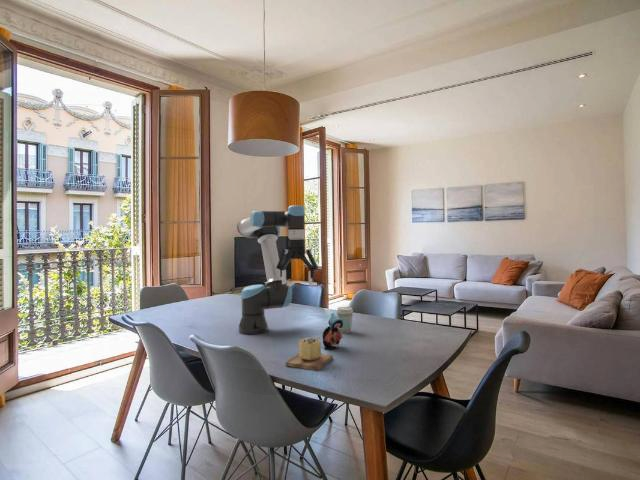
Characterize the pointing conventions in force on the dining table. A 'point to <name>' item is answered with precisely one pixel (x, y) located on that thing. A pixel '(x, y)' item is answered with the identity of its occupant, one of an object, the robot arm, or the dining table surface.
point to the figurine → (332, 333)
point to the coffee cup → (345, 318)
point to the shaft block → (309, 364)
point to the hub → (310, 349)
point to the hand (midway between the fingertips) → (297, 284)
